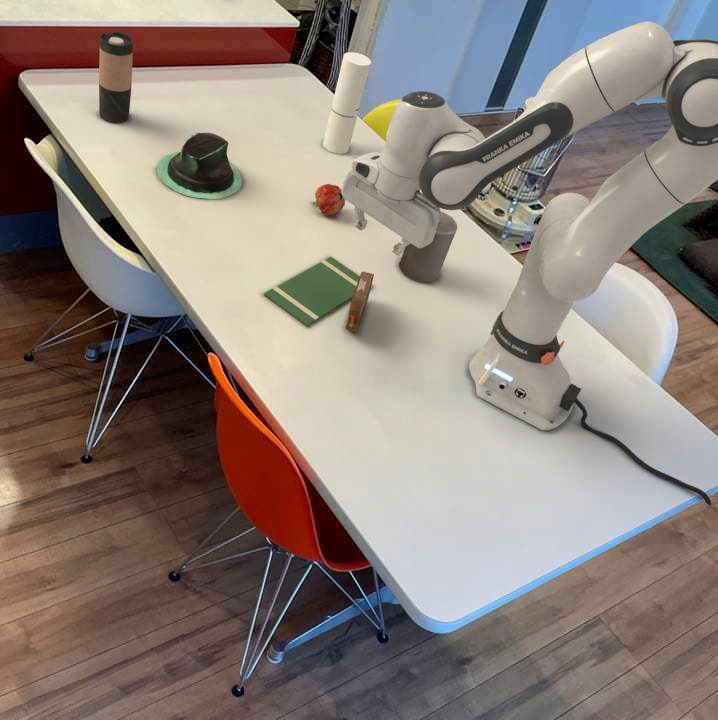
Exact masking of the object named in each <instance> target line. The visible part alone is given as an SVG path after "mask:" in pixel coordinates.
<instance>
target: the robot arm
mask: <svg viewBox="0 0 718 720" xmlns="http://www.w3.org/2000/svg"><path fill="white" fill-rule="evenodd" d="M651 98H653V99H655V98H656V99H660V100H663V101H664V102H665V104H666V108H667V113H668V116H669V118H670V122H671V123H672V125H671V127H670V128H669V129H668V131H667V132H665V134H664V135H663V136H662V138H660V139H658V140H657V141H656V142H654V143H652V144H651V145H650V146H648V147H647V148H645V149H644V150H643V151H642V152H640V153H639V154H638V155H636V156H634V157H633V159H631V160H630V161H628V162H627V163H626V164H624V165H623V166H622V167H621V168H619V169H618V170H616V171H615V172H614V173H612V174H611V175H610V176H609V177H607V178H606V179H605V180H604V182H603V183H602V185H600V187H599V189H598V191H597V192H596V194H595V195H594V196H593V198H592V199H591V200H590V199H589V198H588V197H586V196H584V195H582V194H580V193H576V192H565V193H561V194H559V195H557V196H555V197H553V198H552V199H551V200H550V201H548V203H547V204H546V206H544V207H545V208H544V209H543V212H542V213H541V217H540V220H539V223H538V225H537V227H536V230H535V232H534V235H533V238H532V240H531V243H530V246H529V247H528V250H527V253H526V256H525V258H524V262H523V265H522V268H521V270H520V274H519V277H518V279H517V282H516V283H515V285H514V289H513V290H512V293H511V294H510V297H509V299H508V301H507V303H506V305H505V307H504V308H503V310H502V311H500V313H499V314H498V315H497V317H496V319H495V321H494V324H493V325H492V329H491V331H490V333H489V335H490V336H489V337H488V339H487V340H486V342H485V343H484V345H483V346H482V347H481V348H480V349H479V351H478V352H477V353H476V354H475V355H474V356H473V357H472V358H471V359H470V361H469V365H468V366H469V367H468V369H469V373H470V377H471V378H472V381H473V382H474V384H475V392H476V395H477V396H478V397H479V398H480V399H482V400H484V401H486V402H488V403H490V404H492V405H493V406H495V407H497V408H498V409H501V410H503V411H505V412H506V413H508V414H510V415H512V416H514V417H516V418H517V419H520V420H521V421H523V422H525V423H527V424H529V425H531V426H533V427H535V428H536V429H539V430H541V431H550V430H554V429H556V428H558V427H559V426H561V425H562V424H563V423H564V422H565V421H566V420H567V419H568V418H569V416H570V414H571V413H572V411H573V408H574V405H576V406H577V407H578V409H580V411H581V413H582V414H581V417H580V424H581V426H582V427H583V428H584V429H585V430H587V431H588V432H590V433H592V434H595V435H596V436H598V437H601V438H603V439H606V440H608V441H611V442H612V443H614V444H615V445H617V446H618V447H619V448H620V449H621V450H622V451H623V452H625V453H626V454H627V456H629V457H630V458H631V459H632V460H633V461H634V462H635V463H637V464H638V465H639V466H640V467H642V468H643V469H645V470H647V471H648V472H649V473H651V474H654V475H655V476H657V477H660V478H662V479H664V480H667V481H669V482H671V483H673V484H674V485H677V486H679V487H681V488H683V489H686V490H688V491H691V492H693V493H695V494H698V495H699V496H700V497H702V498H703V500H704V501H705V504H706V505H708V506H711V505H712V500H711V498H710V497H709V495H708V494H707V493H706V492H705V491H704V490H702V489H700V488H699V487H696V486H694V485H691V484H689V483H686V482H684V481H682V480H679V479H678V478H676V477H673V476H671V475H670V474H667V473H664V472H662V471H660V470H658V469H656V468H654V467H653V466H650V465H649V464H647V463H646V462H644V461H643V460H642V459H640V457H638V456H637V455H636V454H635V453H634V452H633V451H632V450H631V449H630V448H629V447H628V446H627V445H626V444H624V443H623V442H622V441H621V440H619V439H618V438H616V437H614V436H612V435H610V434H608V433H605V432H602V431H600V430H597V429H595V428H592V427H591V426H590V425H588V424H587V422H586V420H587V418H588V411H587V409H586V407H585V406H584V404H583V403H582V402H581V401H580V400H579V398H578V396H579V394H580V392H581V391H582V388H581V387H579V386H577V385H576V384H574V383H572V377H571V374H570V373H569V372H568V370H567V368H566V367H565V365H564V363H563V362H562V360H561V358H560V356H559V353H560V351H561V349H562V348H563V346H564V344H565V340H562V341H561V342H560V343H559V340H558V335H557V334H558V333H559V331H560V329H561V327H562V326H563V324H564V323H565V320H566V318H567V317H568V315H569V314H570V312H571V310H572V307H573V304H574V302H580V301H583V300H586V299H588V298H589V297H591V296H592V295H593V294H594V293H595V292H596V291H597V290H598V289H599V287H600V286H601V283H602V281H603V279H604V278H605V277H606V275H607V273H609V271H610V269H611V268H612V267H613V266H614V265H615V264H616V263H617V262H618V261H619V260H620V259H621V257H622V256H624V254H625V253H626V252H628V250H629V249H630V248H631V247H632V246H633V245H634V244H635V243H636V242H637V241H638V240H639V239H640V238H641V237H642V236H643V235H644V234H646V233H647V232H648V231H650V230H651V229H652V228H654V227H655V226H657V225H658V224H659V223H660V222H661V223H662V221H663V220H665V219H666V218H668V217H669V216H671V215H672V214H674V213H675V212H676V211H677V210H679V209H680V208H682V207H683V206H685V205H686V204H688V203H689V202H691V201H692V200H694V199H695V198H696V197H698V196H699V195H700V194H702V192H704V191H705V190H707V188H709V187H710V186H711V185H713V184H714V183H715V182H716V181H717V180H718V41H717V40H713V39H676V40H675V39H674V40H673V39H672V37H671V35H670V34H669V33H668V32H667V30H666V29H665V28H664V27H662V26H661V25H660V24H658V23H656V22H653V21H642V22H639V23H635V24H633V25H629V26H627V27H625V28H622V29H619V30H616V31H615V32H613V33H610V34H607V35H606V36H604V37H601V38H600V39H598V40H596V41H594V42H592V43H590V44H588V45H586V46H584V47H583V48H581V49H579V50H577V51H576V52H574V53H572V54H571V55H570V56H569V57H567V58H565V59H564V60H563V61H561V62H560V63H559V64H558V65H557V66H555V67H554V68H553V69H552V70H551V71H550V72H549V73H548V74H547V76H546V77H545V79H544V81H543V82H542V84H541V86H540V88H539V89H538V91H537V93H536V94H535V96H534V97H533V99H532V100H531V102H530V103H529V105H528V106H527V107H526V109H525V110H524V111H523V112H522V113H521V114H520V115H519V116H518V117H516V118H515V119H514V120H512V122H510V123H509V124H507V125H506V126H503V127H502V128H500V129H499V130H497V131H496V132H494V133H492V134H491V135H489V136H487V137H486V135H485V134H484V133H483V132H482V131H481V129H479V128H478V127H476V126H474V125H472V124H469V123H467V122H466V121H465V120H463V119H462V118H460V117H459V116H458V115H457V114H456V113H455V112H454V111H453V110H452V109H451V108H450V106H449V105H448V103H447V101H446V100H445V98H444V97H442V96H441V95H439V94H437V93H435V92H432V91H427V90H426V91H425V90H418V91H414V92H410V93H408V94H405V95H404V96H403V97H402V98H401V99H400V100H399V102H398V104H397V105H396V107H395V109H394V111H393V114H392V116H391V119H390V122H389V125H388V128H387V132H386V133H385V134H386V135H385V146H384V148H383V150H382V151H381V152H377V151H372V152H368V153H366V154H363V155H360V156H358V157H356V158H355V159H353V160H352V162H351V169H350V170H348V172H347V173H346V175H345V177H344V181H343V183H342V187H341V190H342V191H341V192H342V196H343V198H344V199H345V201H347V202H348V203H350V204H351V205H353V206H354V209H353V212H354V216H355V220H356V221H355V225H354V227H355V228H356V229H357V230H359V231H363V230H365V229H366V228H367V224H368V222H369V221H368V220H367V219H366V218H365V214H366V215H367V216H369V217H371V218H372V219H373V220H375V221H377V222H378V223H379V224H381V225H382V226H384V227H385V228H387V229H389V230H390V231H391V232H393V233H395V234H396V235H397V236H399V237H401V242H398V243H396V244H394V245H393V249H392V253H393V254H394V255H396V256H397V257H399V256H401V255H403V252H404V249H405V247H406V246H408V245H409V244H413V245H414V246H416V247H417V248H423V247H425V246H427V245H429V244H430V243H431V242H432V241H433V239H434V236H435V232H436V228H437V224H438V223H439V220H440V218H441V214H442V213H441V211H442V210H446V211H459V210H463V209H465V208H467V207H468V206H470V205H471V204H472V203H474V202H475V200H476V199H477V198H478V197H479V195H480V194H481V193H482V192H483V191H484V189H485V188H486V187H487V186H488V185H490V184H491V183H492V182H493V181H495V180H497V179H499V178H500V177H502V176H503V175H505V174H507V173H509V172H511V171H513V170H514V169H515V168H517V167H519V166H521V165H522V164H524V163H526V162H528V161H529V160H531V159H533V158H534V157H536V156H537V155H539V154H541V153H543V152H544V151H545V150H547V149H549V148H550V147H552V146H554V145H555V144H556V143H559V142H560V141H562V140H564V139H565V138H566V139H567V137H569V136H571V135H573V134H575V133H576V132H579V131H581V130H582V129H585V128H586V127H588V126H591V125H592V124H594V123H597V122H598V121H600V120H602V119H604V118H606V117H609V116H610V115H612V114H614V113H616V112H618V111H620V110H622V109H623V108H625V107H627V106H629V105H630V104H632V103H634V102H638V101H641V100H644V99H651ZM441 209H442V210H441Z"/></svg>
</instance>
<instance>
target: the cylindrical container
mask: <svg viewBox="0 0 718 720" xmlns="http://www.w3.org/2000/svg"><path fill="white" fill-rule="evenodd" d="M371 65H372V60H371V59H370V58H369V57H368V56H367V55H364V54H361V53H358V52H353V51H351V52H350V51H349V52H345V53H344V54H343V57H342V62H341V66H340V68H339V69H340V70H339V75H338V79H337V81H336V86H335V91H334V95H333V99H332V104H331V108H330V113H329V117H328V121H327V125H326V129H325V133H324V138H323V143H322V146H323V148H324V149H325V150H327V151H329V152H331V153H332V154H333V153H334V154H339V155H344V154H347V153H348V152H349V150H350V146H351V143H352V138H353V134H354V130H355V127H356V123H357V118H358V115H359V111H360V106H361V103H362V99H363V96H364V92H365V87H366V83H367V80H368V77H369V73H370V68H371Z"/></svg>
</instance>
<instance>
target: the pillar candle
mask: <svg viewBox="0 0 718 720" xmlns="http://www.w3.org/2000/svg"><path fill="white" fill-rule="evenodd" d="M441 213H442V214H441V218H440V220H439V223H438V224H437V228H436V232H435V236H434V239H433V241H432V242H431V243H430V244H429V245H427V246H425V247H423V248H417V247H416V246H414V245H413V244H409V245H408V246H406V247H405V249H404V252H403V254H402V256H401V258H400V261H399V263H398V267H399V269H400V271H401V272H402V273H403V274H404V275H405V276H407V277H408V278H409V279H411V280H413V281H416V282H420V283H431V282H435V281H436V280H437V279H438V278H439V276H440V273H441V270H442V268H443V266H444V263H445V261H446V259H447V256H448V253H449V250H450V248H451V245H452V242H453V240H454V239H455V235H456V234H457V233H456V232H457V231H458V224H457V222H456V220H455V219H454V217H452V216H451V215H449V214H448V213H446V212H443V211H442V210H441Z"/></svg>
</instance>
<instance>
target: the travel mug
mask: <svg viewBox="0 0 718 720" xmlns="http://www.w3.org/2000/svg"><path fill="white" fill-rule="evenodd" d="M133 53H134V40H133V38H132V37H131V36H129V35H128V34H125V33H123V32H119V31H112V32H111V33H105V32H102V33H101V34H100V37H99V63H98V64H99V67H98V111H99V117H100V118H101V119H102V120H103V121H105V122H108V123H112V124H123V123H126V122H127V121H128V120H129V118H130V112H131V111H130V109H131V97H132V85H133V83H132V81H133V58H134V56H133Z"/></svg>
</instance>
